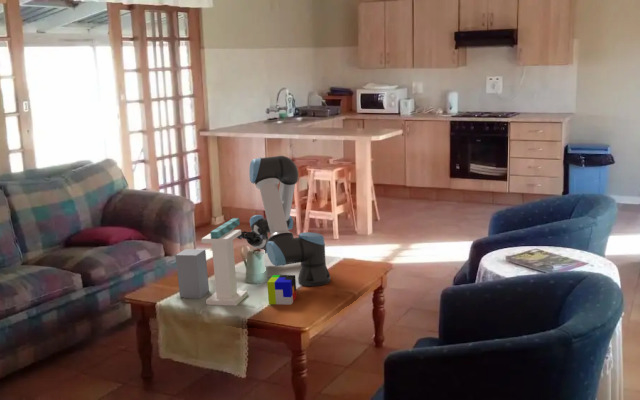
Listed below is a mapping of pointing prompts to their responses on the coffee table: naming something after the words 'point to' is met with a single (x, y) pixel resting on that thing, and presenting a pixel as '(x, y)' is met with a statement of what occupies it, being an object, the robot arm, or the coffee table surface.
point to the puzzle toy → (281, 289)
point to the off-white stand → (224, 270)
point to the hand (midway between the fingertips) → (241, 227)
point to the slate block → (192, 273)
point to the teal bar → (224, 228)
